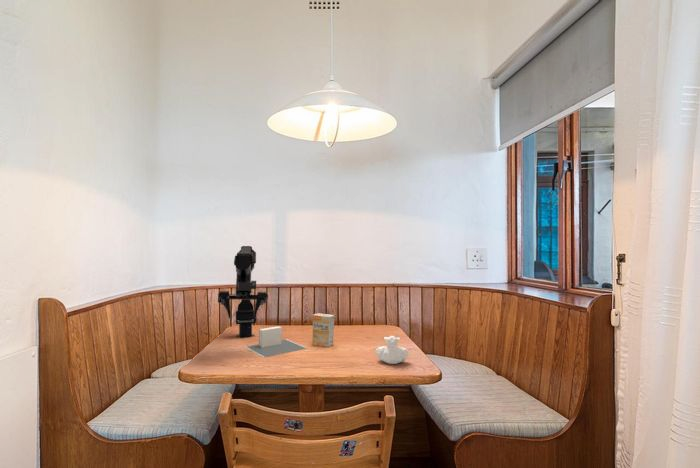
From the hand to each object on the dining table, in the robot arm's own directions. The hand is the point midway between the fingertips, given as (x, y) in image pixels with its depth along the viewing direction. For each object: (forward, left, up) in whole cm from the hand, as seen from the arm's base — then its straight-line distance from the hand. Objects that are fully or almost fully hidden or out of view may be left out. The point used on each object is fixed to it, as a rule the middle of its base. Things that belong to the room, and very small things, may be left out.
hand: (242, 318), depth 144 cm
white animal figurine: (+41, +40, -15) cm, 59 cm away
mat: (-1, +15, -14) cm, 21 cm away
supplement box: (+7, +33, -15) cm, 37 cm away
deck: (-6, +15, -14) cm, 22 cm away
